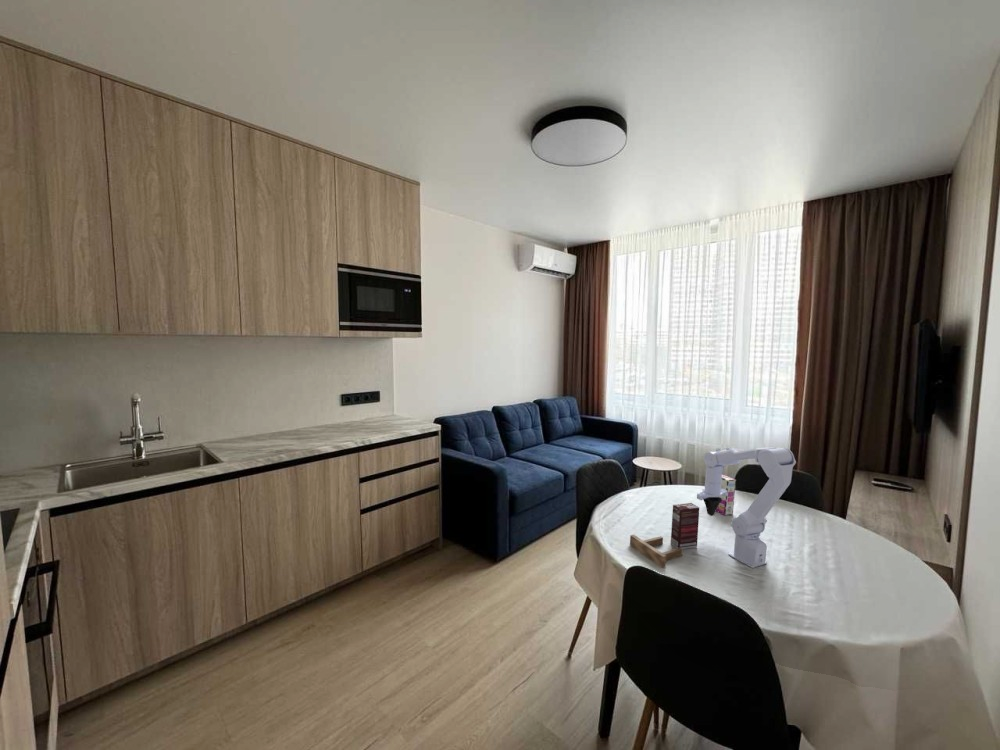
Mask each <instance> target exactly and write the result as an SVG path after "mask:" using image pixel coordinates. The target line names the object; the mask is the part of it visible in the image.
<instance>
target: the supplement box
mask: <svg viewBox="0 0 1000 750" xmlns="http://www.w3.org/2000/svg"><path fill="white" fill-rule="evenodd" d="M671 515H672V516H671V518H672V519H671V534H670V545H672V547H674V549H678V548H681V549H682V550H686V549H692V548H694V549H695V548H697V547H698V537H699V536H698V535H699V519H700V507H699V506H697V505H696V504H694V503H692V502H689V503H679V504H673V505H672V513H671Z"/></svg>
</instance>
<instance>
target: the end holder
mask: <svg viewBox="0 0 1000 750" xmlns="http://www.w3.org/2000/svg"><path fill="white" fill-rule="evenodd" d="M663 542H664V537H663V536H656V537H652V538H648V539H645V540H643V539H641V538H640V537H638V536H637V535H635V534H630V536H629V546H630V547H632V548H633V549H635V550H636V551H638V552H639V553H640V554H642V555H643V556H644V557H646V558H648V559H649V560H651V561H652V562H653V563H655V564H656V565H658V567H660V566H661V568H666V567H667V566H666V565H667V561H670V560H672V559H677V558H679V557H680V558H681V557H682V556H683V549H681V548H678V549H677V548H674V549H671V550H667V551H664V552H661V551H660V550H658V549H657V548H656V547H655V546H659V545H663Z"/></svg>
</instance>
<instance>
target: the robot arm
mask: <svg viewBox="0 0 1000 750" xmlns="http://www.w3.org/2000/svg"><path fill="white" fill-rule="evenodd" d="M744 460H755V462H756V463H758V464H759V465H760V467H761V469H762V470H763V472H764V473H765V474H766V476H767V477H768V480H767V482H766V483H765V484H764V486H763V488H762V489H761V490H760V491H759V493H758V494H757V496H756V497H755V499H754V500H753V501H752V503H751V504H750V505H749V507H748V509H746V510H745V511H743V512H742V513H740V514H739V515H738V516H737V517H734V518H733V519H732V520H731V523H730V524H731V528H732V531H733V533H734V534H735V538H734V547H733V551H732V552H731V551H730V552H728V553H727V555H728V556H730V557H731V558H733V559H735V560H737V561H739V562H740V563H742V564H744V565H745V566H748V567H749V568H752V569H753V568H756V567H759V566H763V565H765V564H767V561H766V560H767V559H766V557H767V547H768V546H767V543H765V542H764V541H763V540H761V538H760V536H761V534H762V533H763V532H764V531H765V529H766V523H767V522H768V520H767V518H766V516H767V515H768V514H769V513H770V511H771V510H772V509H773V508H774V506H775V504H776V503H777V502H778V500H779V499H780V498H781V497H782V495H783V494H784V493H785V492H786V490H787V489H788V487H789V486H790V484H791V483H792V477H793V468H794V466H795V465H796V464H797V461H796V459H795V455H794V453H793V452H792V451H791V449H790V448H787V447H785V446H781V447H758V448H755V447H754V448H752V449H751V448H749V449H746V450H745V449H743V450H738V449H736V448H732V447H726V448H725V449H723V450H721V449H716V450H715V451H707V452H705V453H704V455H703V462H704V464H705V478H704V488H702V489H701V490H702V491H701V492H699V493H697V494H696V499H697V500H699V501H703V502H704V504H705V508H706V513H707V515H709V516H711V517H712V516H715V513H716V512H717V511H716V509H717V507H718V505H719V503H720V502H721V501H722V499H721V498H719V497H720V496H722V495H727V490H724V489H721V482H722V474H723V471H724V467H725V466H731V465H733V466H734V465H738V464H739V463H740V462H741V461H744Z"/></svg>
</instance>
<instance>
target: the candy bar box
mask: <svg viewBox="0 0 1000 750" xmlns="http://www.w3.org/2000/svg"><path fill="white" fill-rule="evenodd" d="M736 481H737V479H735V478H732V477H730V476H727V475H725V474H723V473H722V482H721V489H724V490H727V495H722V496H720V497H719V498H721V499H722V501H721V502H720V503H719V505H718V507H717V509H716V511H715V512H716V513H719V514H721V515H724V516H730V515H732V516H733V514H734V505H735V496H736V495H735V494H736V484H737V482H736Z"/></svg>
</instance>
